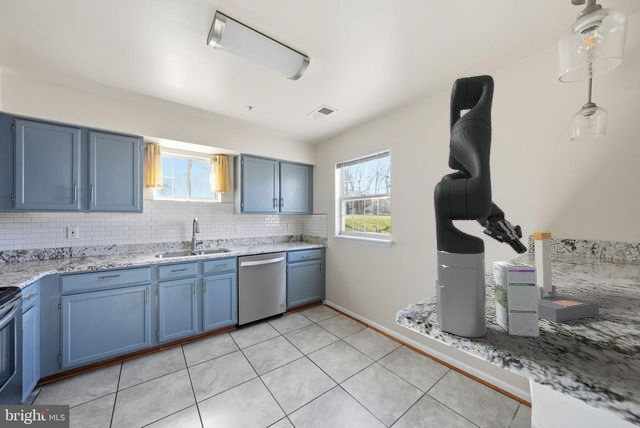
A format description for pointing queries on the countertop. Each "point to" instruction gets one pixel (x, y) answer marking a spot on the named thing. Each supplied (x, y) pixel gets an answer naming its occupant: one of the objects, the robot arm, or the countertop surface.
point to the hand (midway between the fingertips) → (523, 252)
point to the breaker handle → (543, 260)
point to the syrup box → (516, 298)
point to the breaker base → (564, 306)
